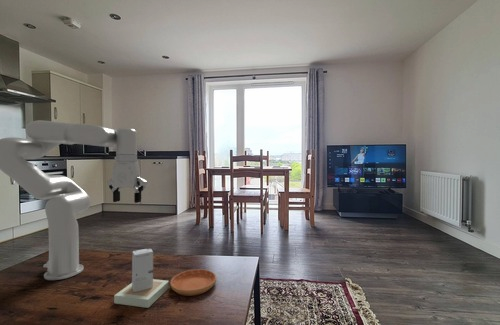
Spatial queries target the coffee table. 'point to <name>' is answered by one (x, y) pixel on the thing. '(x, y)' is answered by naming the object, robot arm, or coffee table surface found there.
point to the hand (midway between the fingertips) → (127, 201)
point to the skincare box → (142, 269)
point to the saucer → (193, 282)
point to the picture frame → (141, 294)
